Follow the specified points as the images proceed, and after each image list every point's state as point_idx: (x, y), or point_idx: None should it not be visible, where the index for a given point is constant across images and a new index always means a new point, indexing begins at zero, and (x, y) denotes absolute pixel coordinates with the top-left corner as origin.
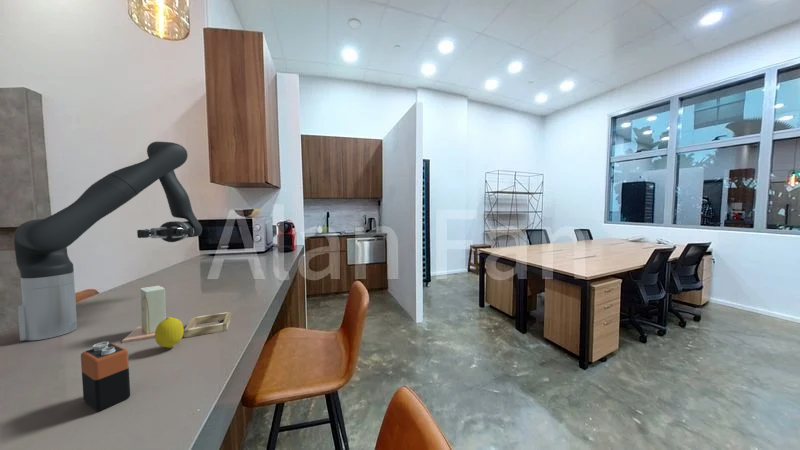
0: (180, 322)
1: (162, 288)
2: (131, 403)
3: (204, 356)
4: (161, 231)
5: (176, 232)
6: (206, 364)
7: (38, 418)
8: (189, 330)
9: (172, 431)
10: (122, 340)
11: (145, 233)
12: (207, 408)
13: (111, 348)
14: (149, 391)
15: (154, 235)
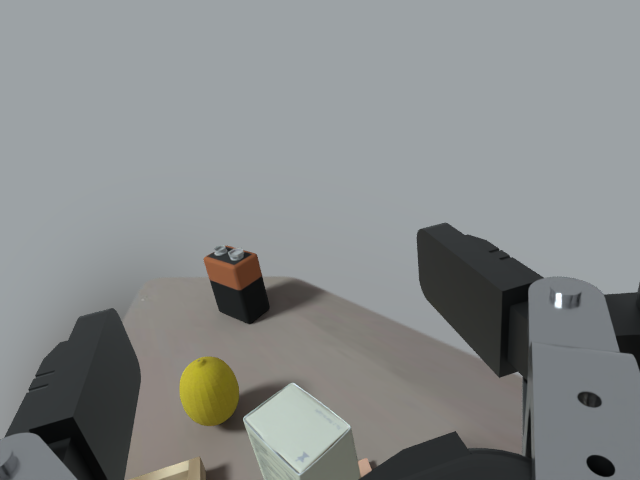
0: (180, 380)
1: (253, 420)
2: (213, 306)
3: (144, 384)
4: (443, 461)
5: (119, 330)
6: (140, 363)
7: (296, 293)
8: (185, 463)
9: (161, 284)
10: (366, 459)
11: (435, 268)
12: (134, 300)
13: (219, 252)
14: (202, 319)
15: (522, 451)
